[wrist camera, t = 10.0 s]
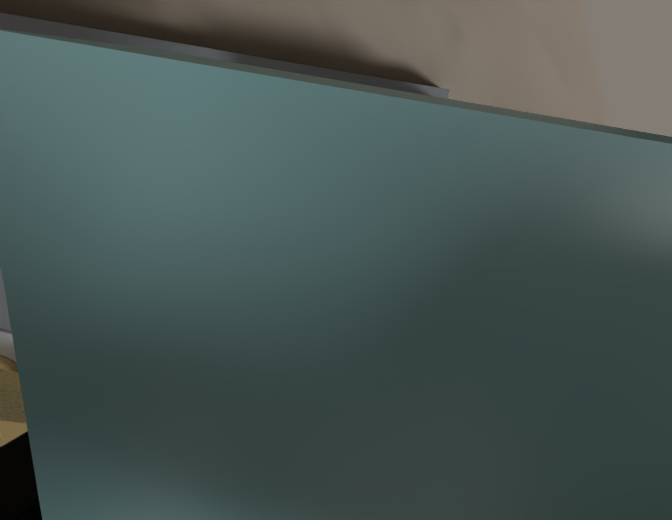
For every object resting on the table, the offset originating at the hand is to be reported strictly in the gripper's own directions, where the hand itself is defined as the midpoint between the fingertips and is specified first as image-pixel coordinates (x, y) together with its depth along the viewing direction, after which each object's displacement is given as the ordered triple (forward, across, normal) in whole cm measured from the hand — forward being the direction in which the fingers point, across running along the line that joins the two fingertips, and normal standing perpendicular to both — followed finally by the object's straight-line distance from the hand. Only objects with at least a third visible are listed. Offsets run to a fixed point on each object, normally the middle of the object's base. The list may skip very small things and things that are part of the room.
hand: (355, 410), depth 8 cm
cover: (0, 0, 0) cm, 0 cm away
